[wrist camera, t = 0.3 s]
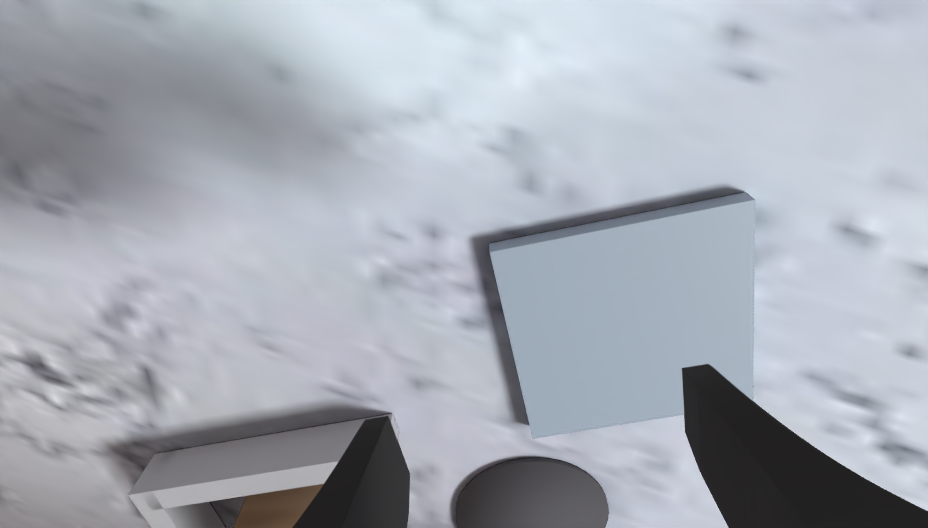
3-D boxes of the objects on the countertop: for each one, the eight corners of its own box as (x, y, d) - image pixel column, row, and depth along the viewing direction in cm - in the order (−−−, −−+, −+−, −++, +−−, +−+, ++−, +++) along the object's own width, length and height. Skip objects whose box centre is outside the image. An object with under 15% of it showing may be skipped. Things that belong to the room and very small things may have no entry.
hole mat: (614, 550, 31) (616, 555, 31) (473, 569, 32) (474, 573, 32) (598, 446, 28) (599, 451, 28) (440, 471, 29) (439, 475, 28)
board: (745, 391, 26) (752, 403, 25) (531, 426, 27) (532, 438, 27) (745, 191, 22) (755, 199, 21) (488, 243, 23) (489, 252, 22)
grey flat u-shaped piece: (444, 552, 32) (442, 596, 29) (238, 580, 33) (221, 624, 31) (392, 413, 27) (385, 453, 25) (154, 453, 28) (127, 495, 26)
